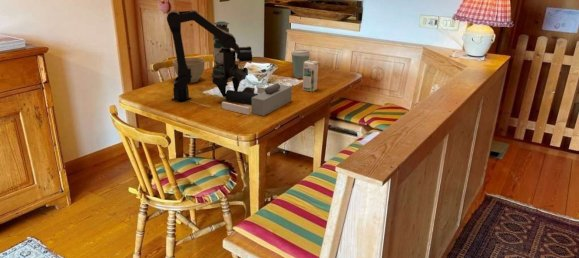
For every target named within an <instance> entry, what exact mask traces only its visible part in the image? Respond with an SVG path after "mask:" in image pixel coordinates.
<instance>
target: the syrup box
mask: <svg viewBox="0 0 579 258" xmlns="http://www.w3.org/2000/svg"><path fill="white" fill-rule="evenodd" d="M318 75H319V61H315V60H310V59H309V60H308V61H305V62H304V70H303V78H302V91H306V92H307V91H308V92H311V93H312V92H315V91H317V89H318Z"/></svg>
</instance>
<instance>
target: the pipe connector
mask: <svg viewBox="0 0 579 258" xmlns="http://www.w3.org/2000/svg"><path fill="white" fill-rule="evenodd" d="M259 94H260V93H255V87H250V86H246V87H245V88H243V90H242V91H241V90H240V91H239V90H238V91H234V89H233V90H232V89H226V95H225V97H224V98H225V100H226V102H227V101H228V102H234V103H241V104H248V105H252V97H254V96H256V95H259Z"/></svg>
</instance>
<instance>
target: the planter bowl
mask: <svg viewBox="0 0 579 258" xmlns="http://www.w3.org/2000/svg"><path fill="white" fill-rule="evenodd" d="M185 59H186V63H187V66H191V72H192V78H191V82H190V83H191V84H192V83H197V82H199V81H200V79H201V77H202V75H203V72H204V70H205V62H206V61H205V59H204V58H201V57H190V56H189V57H185ZM172 64H173V68H174V71H175V74H176V75H177V76H178V62H177V58H175V59H173V61H172ZM190 83H189V84H190Z"/></svg>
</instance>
